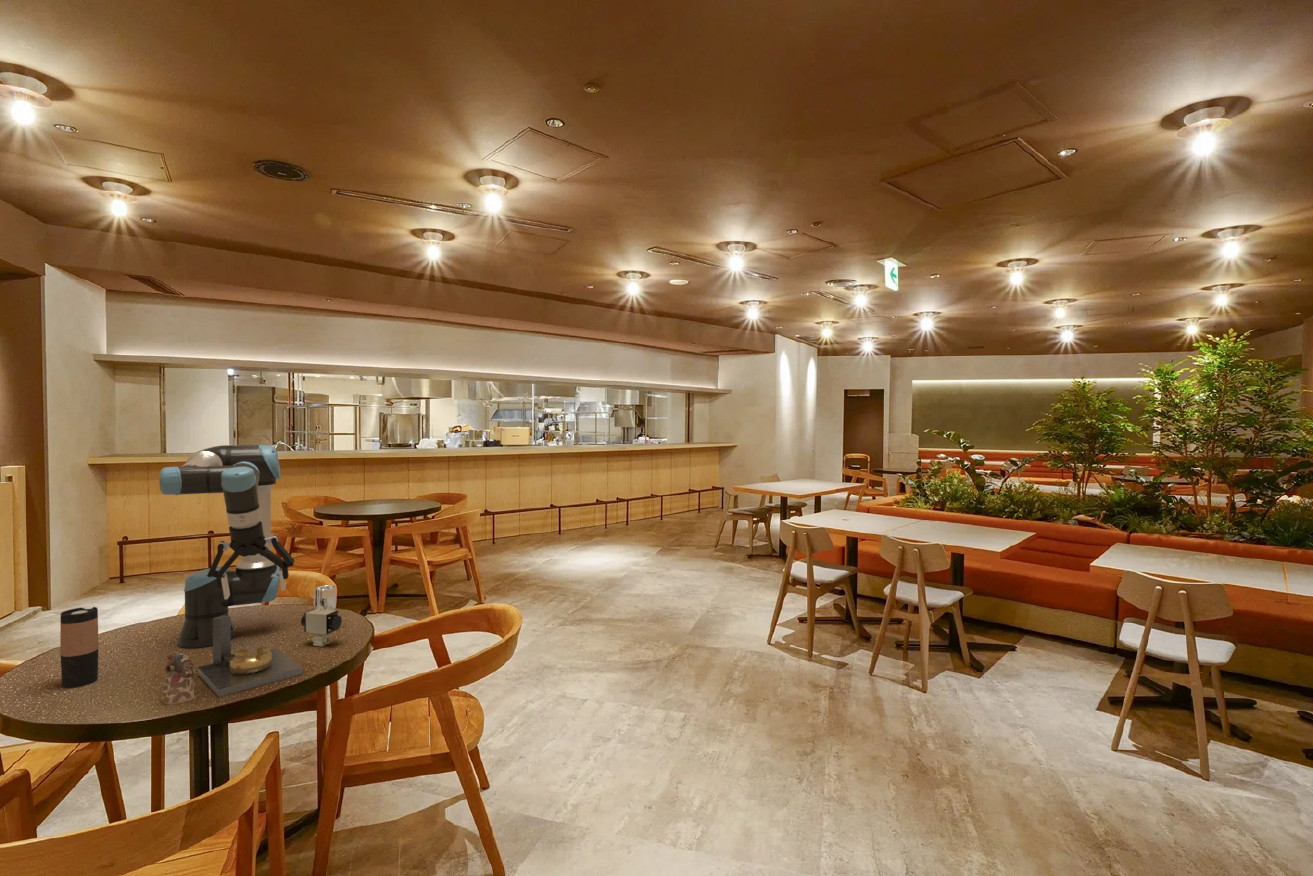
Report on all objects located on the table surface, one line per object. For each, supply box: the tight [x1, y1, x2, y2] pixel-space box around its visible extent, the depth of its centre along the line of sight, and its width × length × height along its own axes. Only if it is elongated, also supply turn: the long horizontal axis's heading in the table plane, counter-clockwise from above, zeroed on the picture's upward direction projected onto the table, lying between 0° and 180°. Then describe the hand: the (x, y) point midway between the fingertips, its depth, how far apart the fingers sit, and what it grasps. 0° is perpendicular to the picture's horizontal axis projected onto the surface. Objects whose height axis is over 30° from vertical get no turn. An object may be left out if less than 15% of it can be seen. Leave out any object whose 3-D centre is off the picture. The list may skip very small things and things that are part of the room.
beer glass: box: [313, 584, 337, 610], centre depth 212 cm, size 7×7×15 cm
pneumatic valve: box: [300, 608, 343, 647], centre depth 198 cm, size 6×12×12 cm, turn 78°
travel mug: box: [59, 606, 100, 689], centre depth 168 cm, size 8×8×20 cm
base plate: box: [197, 648, 304, 698], centre depth 174 cm, size 22×20×2 cm
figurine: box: [161, 652, 197, 706], centre depth 158 cm, size 7×7×12 cm
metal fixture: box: [212, 615, 272, 674], centre depth 174 cm, size 18×10×13 cm, turn 74°
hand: (256, 593), depth 171 cm, fingers open, 13 cm apart
